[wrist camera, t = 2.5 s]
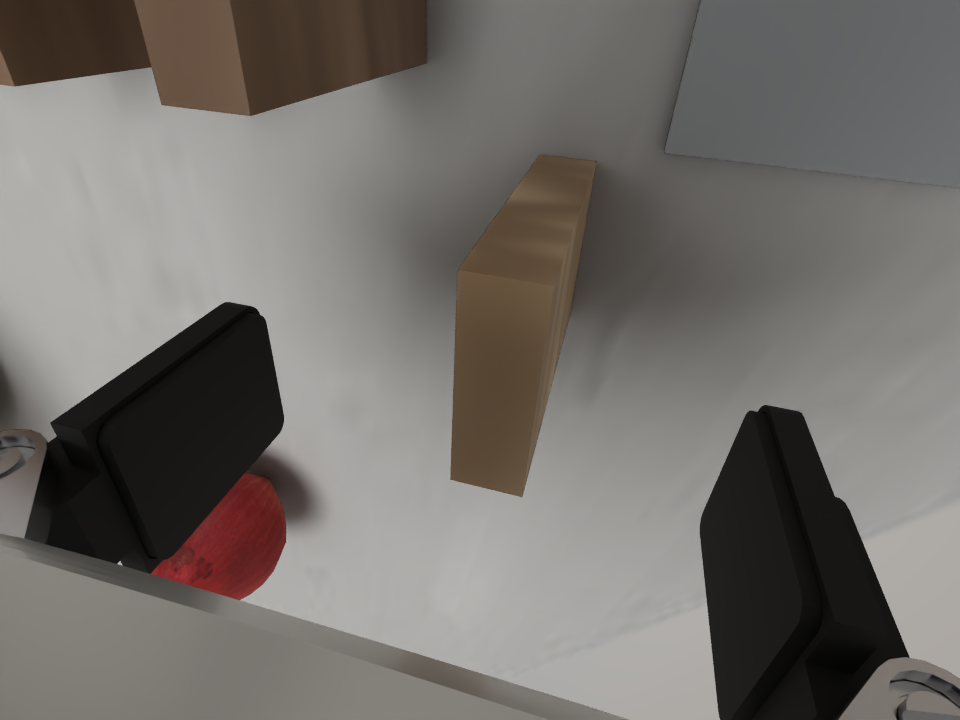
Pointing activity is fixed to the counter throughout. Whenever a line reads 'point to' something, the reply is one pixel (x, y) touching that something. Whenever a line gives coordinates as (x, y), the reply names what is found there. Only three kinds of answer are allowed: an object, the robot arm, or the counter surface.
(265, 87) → the domino
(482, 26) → the counter surface
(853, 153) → the pad
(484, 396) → the domino
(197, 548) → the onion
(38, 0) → the domino
